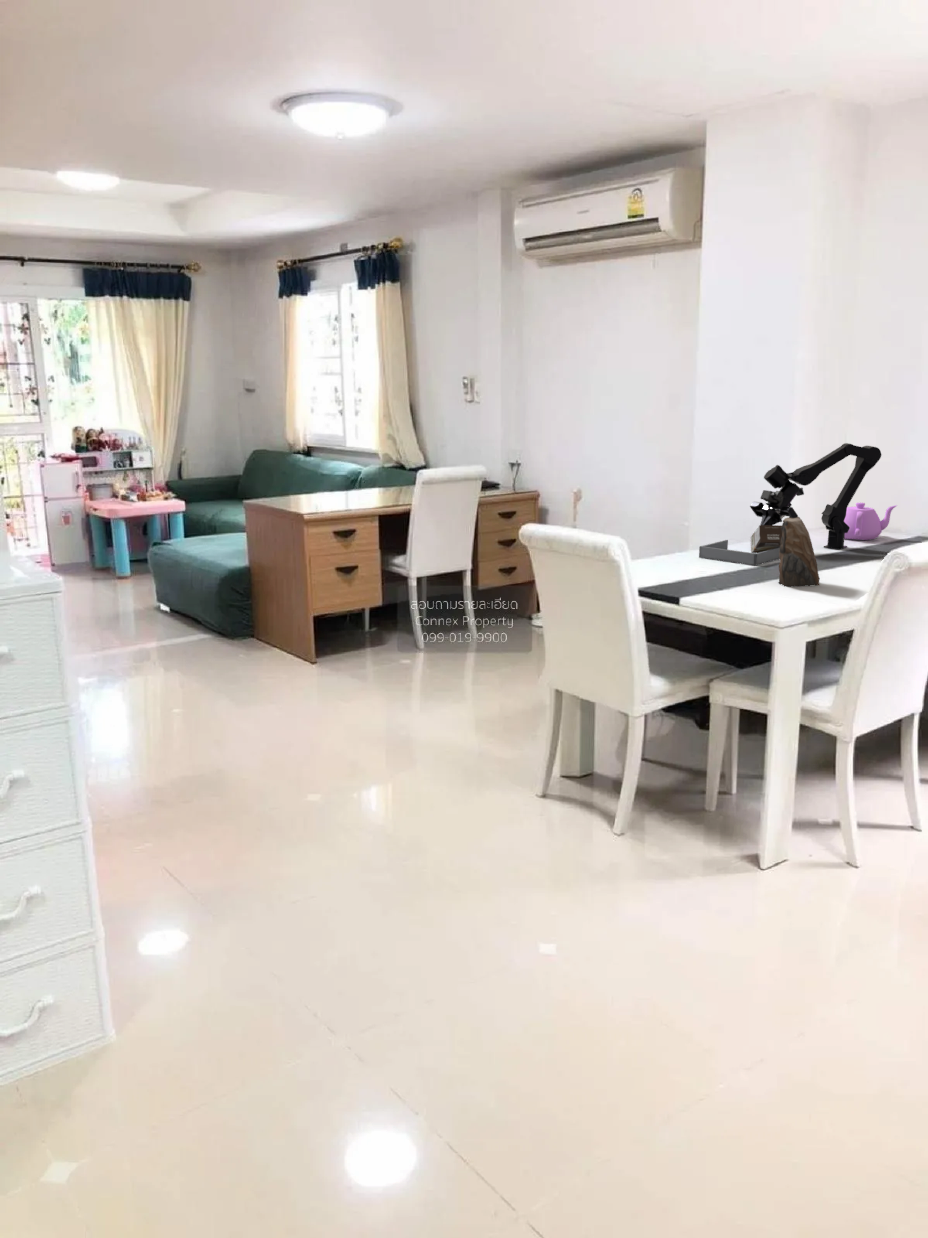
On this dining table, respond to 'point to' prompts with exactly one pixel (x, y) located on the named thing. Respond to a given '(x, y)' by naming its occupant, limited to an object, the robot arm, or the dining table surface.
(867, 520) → the teapot
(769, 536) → the coffee box
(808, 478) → the robot arm
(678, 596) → the dining table surface
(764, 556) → the box
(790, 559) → the brown rock
